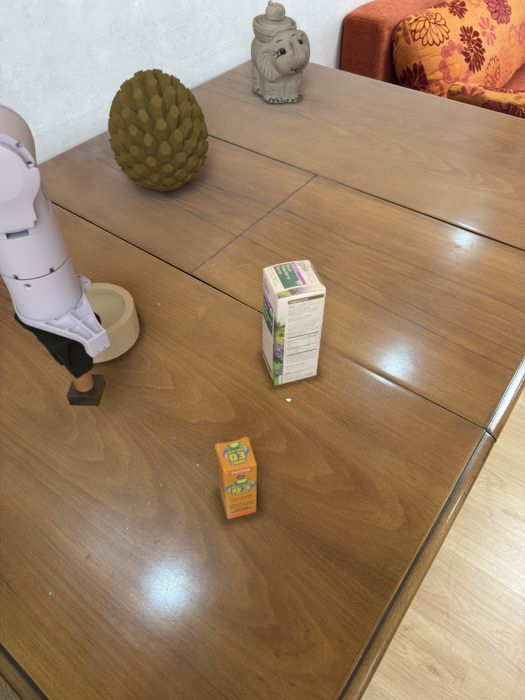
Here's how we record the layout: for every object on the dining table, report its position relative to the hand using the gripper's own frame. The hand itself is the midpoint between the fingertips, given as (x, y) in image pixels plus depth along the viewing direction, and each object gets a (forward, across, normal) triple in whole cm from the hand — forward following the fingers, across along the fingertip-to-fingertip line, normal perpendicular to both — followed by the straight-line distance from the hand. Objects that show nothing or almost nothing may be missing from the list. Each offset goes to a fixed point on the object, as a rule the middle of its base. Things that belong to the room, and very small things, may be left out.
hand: (76, 365), depth 55 cm
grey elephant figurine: (+10, +46, -85) cm, 97 cm away
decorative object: (+11, +35, -41) cm, 55 cm away
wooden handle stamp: (+5, 0, 0) cm, 5 cm away
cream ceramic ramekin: (+10, +12, -9) cm, 19 cm away
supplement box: (+11, -19, -4) cm, 22 cm away
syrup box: (+11, -11, -22) cm, 27 cm away
